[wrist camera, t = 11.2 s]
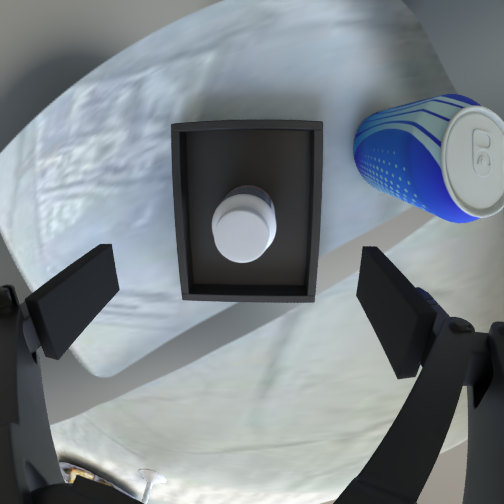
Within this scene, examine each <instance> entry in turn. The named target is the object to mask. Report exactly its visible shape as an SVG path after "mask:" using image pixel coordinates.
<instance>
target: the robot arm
mask: <svg viewBox="0 0 504 504" xmlns="http://www.w3.org/2000/svg"><path fill="white" fill-rule="evenodd" d="M118 291H119V284H118V279H117V274H116V268H115V262H114V256H113V250H112V244H100V245H98V246H97V247H95V248H94V249H92V250H91V251H89V252H88V253H86V254H85V255H84V256H82V257H81V258H79V259H78V260H76V261H75V262H74V263H72V264H71V265H69V266H68V267H67V268H65V269H64V270H63V271H61V272H60V273H58V274H57V275H56V276H54V277H53V278H52V279H50V280H49V281H48V282H46V283H45V284H44V285H42V286H41V287H40V288H38V289H37V290H36V291H35V292H33V293H32V294H31V295H29V296H28V297H27V298H26V299H25V301H24V302H23V303H22V304H21V305H19V301H18V298H17V295H16V292H15V288H14V286H13V285H3V286H0V504H144V503H142V502H140V501H138V500H136V499H134V498H132V497H130V496H128V495H126V494H125V493H123V492H121V491H119V490H117V489H116V488H114V487H112V486H109V485H106V484H103V483H100V482H97V481H94V480H91V479H88V478H85V477H83V476H80V475H76V477H75V480H74V482H73V483H65V481H64V479H63V476H62V473H61V470H60V466H59V463H58V459H57V456H56V452H55V448H54V444H53V439H52V435H51V431H50V426H49V421H48V416H47V411H46V405H45V399H44V392H43V384H42V377H41V368H40V357H39V355H38V352H37V349H38V348H39V347H40V346H42V349H43V351H44V354H45V356H46V357H49V358H52V359H56V360H59V359H60V358H61V356H62V355H63V354H64V353H65V352H66V350H67V349H68V348H69V347H70V346H71V344H72V343H73V342H74V341H75V340H76V339H77V337H78V336H79V335H80V334H81V333H82V332H83V330H84V329H85V328H86V327H87V326H88V325H89V323H90V322H91V321H92V320H93V319H94V318H95V317H96V315H97V314H98V313H99V312H100V311H101V310H102V309H103V308H104V307H105V305H106V304H107V303H108V302H109V301H110V300H111V299H112V298H113V297H114V296H115V294H116V293H117V292H118ZM356 296H357V298H358V300H359V302H360V303H361V305H362V307H363V309H364V311H365V313H366V315H367V317H368V319H369V321H370V323H371V325H372V327H373V329H374V331H375V333H376V335H377V337H378V339H379V341H380V343H381V345H382V347H383V349H384V351H385V353H386V355H387V357H388V359H389V362H390V364H391V366H392V368H393V370H394V372H395V374H396V376H397V379H403V378H411V377H416V374H417V372H418V369H419V367H420V364H421V366H422V367H423V368H422V370H421V372H420V374H419V376H418V378H417V380H416V382H415V384H414V386H413V388H412V390H411V392H410V394H409V396H408V398H407V399H406V401H405V403H404V405H403V407H402V409H401V410H400V412H399V414H398V416H397V417H396V419H395V421H394V422H393V424H392V426H391V427H390V429H389V431H388V432H387V434H386V435H385V437H384V439H383V440H382V442H381V443H380V445H379V446H378V448H377V449H376V451H375V452H374V454H373V455H372V457H371V458H370V460H369V461H368V462H367V464H366V465H365V467H364V468H363V469H362V471H361V472H360V473H359V475H358V476H357V477H356V478H354V479H353V480H352V481H351V483H350V484H349V485H348V486H347V487H346V489H345V490H344V491H343V492H342V494H341V495H340V496H339V497H338V498H337V500H336V501H335V502H334V503H333V504H417V503H416V502H417V499H418V497H419V495H420V493H421V491H422V489H423V487H424V485H425V483H426V481H427V479H428V477H429V475H430V473H431V471H432V469H433V466H434V464H435V462H436V460H437V457H438V455H439V453H440V450H441V448H442V445H443V443H444V440H445V438H446V435H447V432H448V430H449V427H450V424H451V421H452V418H453V415H454V412H455V409H456V406H457V403H458V400H459V397H460V393H461V390H462V386H467V396H468V454H467V469H466V480H465V489H464V497H463V504H504V322H494V323H493V324H492V325H491V328H490V330H489V333H481V332H475V329H474V327H473V325H472V324H471V323H469V322H468V321H466V320H464V319H462V318H458V317H450V316H449V315H448V314H447V313H446V312H445V311H444V310H443V308H442V307H441V306H440V305H438V303H437V302H436V301H435V300H434V298H433V297H432V296H431V295H430V294H429V293H428V292H426V291H424V290H423V289H421V288H419V287H417V288H415V287H414V286H413V285H412V284H411V282H410V281H409V280H408V279H407V278H406V277H405V276H404V275H403V274H402V273H401V272H400V271H399V269H398V268H397V267H396V266H395V265H394V264H393V263H392V262H391V261H390V260H389V259H388V258H387V257H386V256H385V255H384V254H383V253H382V252H381V251H380V250H379V249H378V247H371V246H369V247H368V246H367V247H365V246H363V249H362V257H361V265H360V273H359V280H358V287H357V294H356Z"/></svg>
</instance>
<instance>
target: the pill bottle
mask: <svg viewBox="0 0 504 504" xmlns="http://www.w3.org/2000/svg"><path fill="white" fill-rule="evenodd" d="M212 232H213V235H214V240H215V244H216V246H217V248H218V250H219V252H220V253H221V254H222V255H223V256H224V257H226V258H227V259H229V260H231V261H234V262H238V263H246V262H251V261H253V260H255V259H257V258H258V257H260V256H261V255H262V254H263V253H264V251H265V250H266V249H267V248H268V247H269V246H270V244H271V243H272V241H273V240H274V237H275V234H276V219H275V209H274V204H273V202H272V200H271V198H270V196H269V195H268V194H267V193H266V192H265V191H264V190H262V189H261V188H259V187H256V186H251V185H245V186H240V187H237V188H235V189H233V190H232V191H231V192H229V193H228V194H227V196H226V197H225V198H224V199H223V201H222V202H221V203H220V204H219V206H218V207H217V209H216V210H215V213H214V215H213V219H212Z"/></svg>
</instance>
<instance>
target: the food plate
mask: <svg viewBox="0 0 504 504" xmlns="http://www.w3.org/2000/svg"><path fill="white" fill-rule="evenodd" d="M59 466H60V470H61V473H62V476H63V478H64V479H65V480H66V481H68V482H69V483H73V482H74V480H75V477H76V475H80V476H83V477H85V478H88V479H91V480H94V481H97V482H100V483H103V484H106V485H109V486H112V487H114V488H116V489H117V490H119V491H121V492H123V493H125V494H126V495H128V496H130V497H132V498H134V497H133V496H131V495H130V494H127V493H126V492H125V491H123V490H122V489H120V488H118V486H115V485H114V484H112V483H111V482H109V481H107V480H105V479H104V478H102V477H100V476H98V475H96V474H93V473H92V472H90V471H88V470H86V469H84V468H82V467H79V466H74V465H71V464H68V463H64V462H59ZM134 499H135V498H134Z"/></svg>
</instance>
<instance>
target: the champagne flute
mask: <svg viewBox="0 0 504 504" xmlns="http://www.w3.org/2000/svg"><path fill="white" fill-rule="evenodd" d="M138 474H139V475H140V476H141V477H142V478H143V479H145V480H146V481H147V486H146V489H145V492H144V495H143V499H142V503H144V504H147V501H148V498H149V495H150V491H151V488H152V484H159V483H165V482H166V481H167V480H166V478H165V477H164V476H162V475H161V474H159V473H157V472H154V471H151V470H147V469H140V470H138Z"/></svg>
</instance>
